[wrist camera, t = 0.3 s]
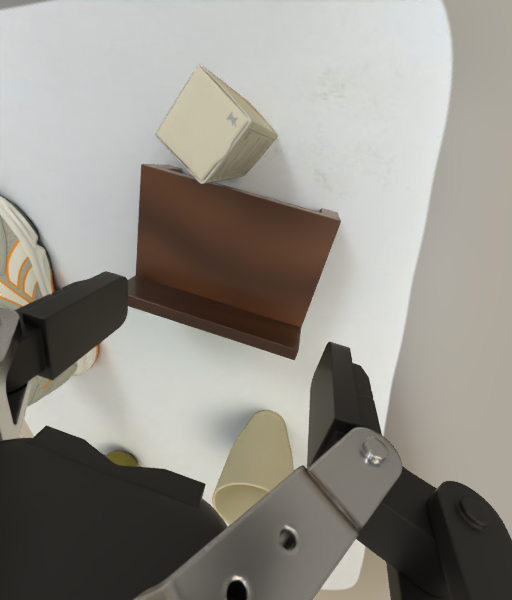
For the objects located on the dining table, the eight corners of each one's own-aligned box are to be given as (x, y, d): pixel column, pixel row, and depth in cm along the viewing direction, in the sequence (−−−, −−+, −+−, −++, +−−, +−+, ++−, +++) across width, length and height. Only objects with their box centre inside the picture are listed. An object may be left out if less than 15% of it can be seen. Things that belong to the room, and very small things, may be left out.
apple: (126, 438, 50) (99, 477, 44) (154, 468, 52) (131, 510, 46) (99, 446, 53) (69, 485, 46) (125, 475, 55) (100, 515, 49)
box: (247, 98, 26) (201, 55, 16) (279, 136, 26) (256, 117, 16) (210, 146, 28) (151, 134, 18) (242, 180, 29) (201, 186, 19)
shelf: (168, 164, 29) (111, 163, 21) (337, 212, 28) (344, 230, 20) (158, 270, 35) (110, 300, 27) (300, 314, 33) (294, 360, 25)
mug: (232, 436, 44) (204, 521, 34) (246, 391, 40) (220, 472, 29) (299, 460, 44) (293, 554, 33) (321, 416, 39) (322, 509, 29)
